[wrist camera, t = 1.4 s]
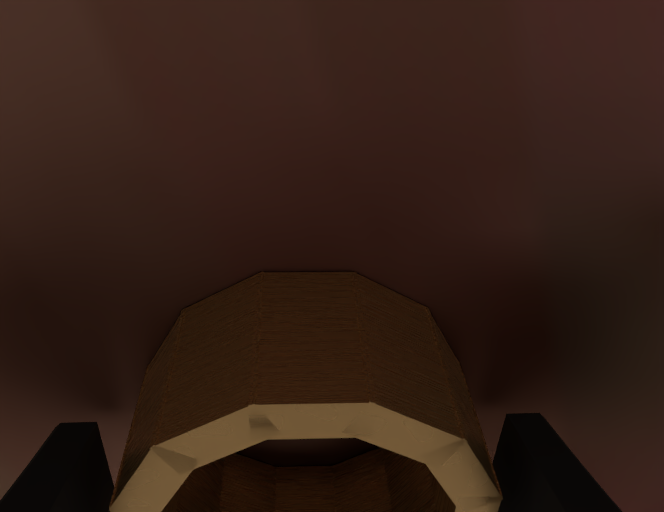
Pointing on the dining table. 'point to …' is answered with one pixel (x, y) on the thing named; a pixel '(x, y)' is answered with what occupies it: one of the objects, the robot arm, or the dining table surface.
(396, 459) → the wooden ring
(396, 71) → the dining table surface
